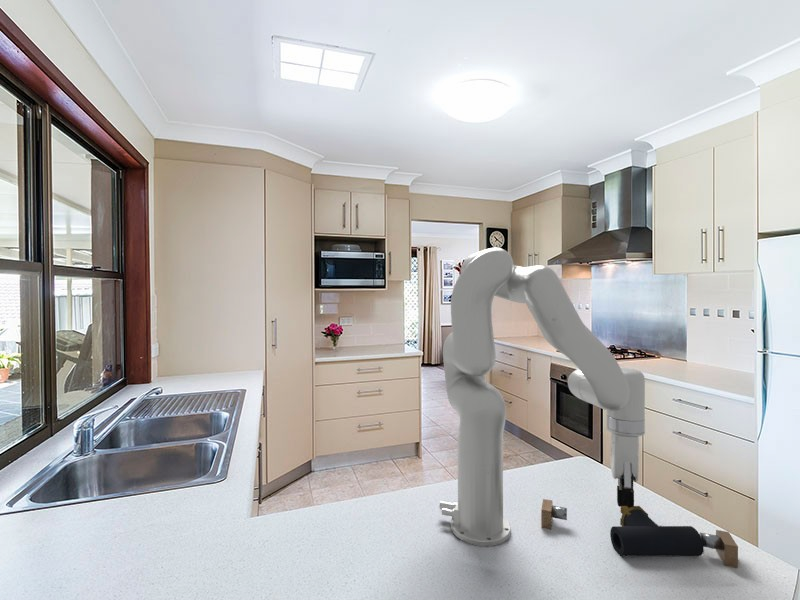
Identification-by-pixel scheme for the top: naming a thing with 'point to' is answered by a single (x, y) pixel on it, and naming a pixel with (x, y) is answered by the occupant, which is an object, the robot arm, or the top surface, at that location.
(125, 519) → the top surface
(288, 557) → the top surface
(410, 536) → the top surface
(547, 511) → the left shaft
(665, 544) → the pipe connector
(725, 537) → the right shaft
